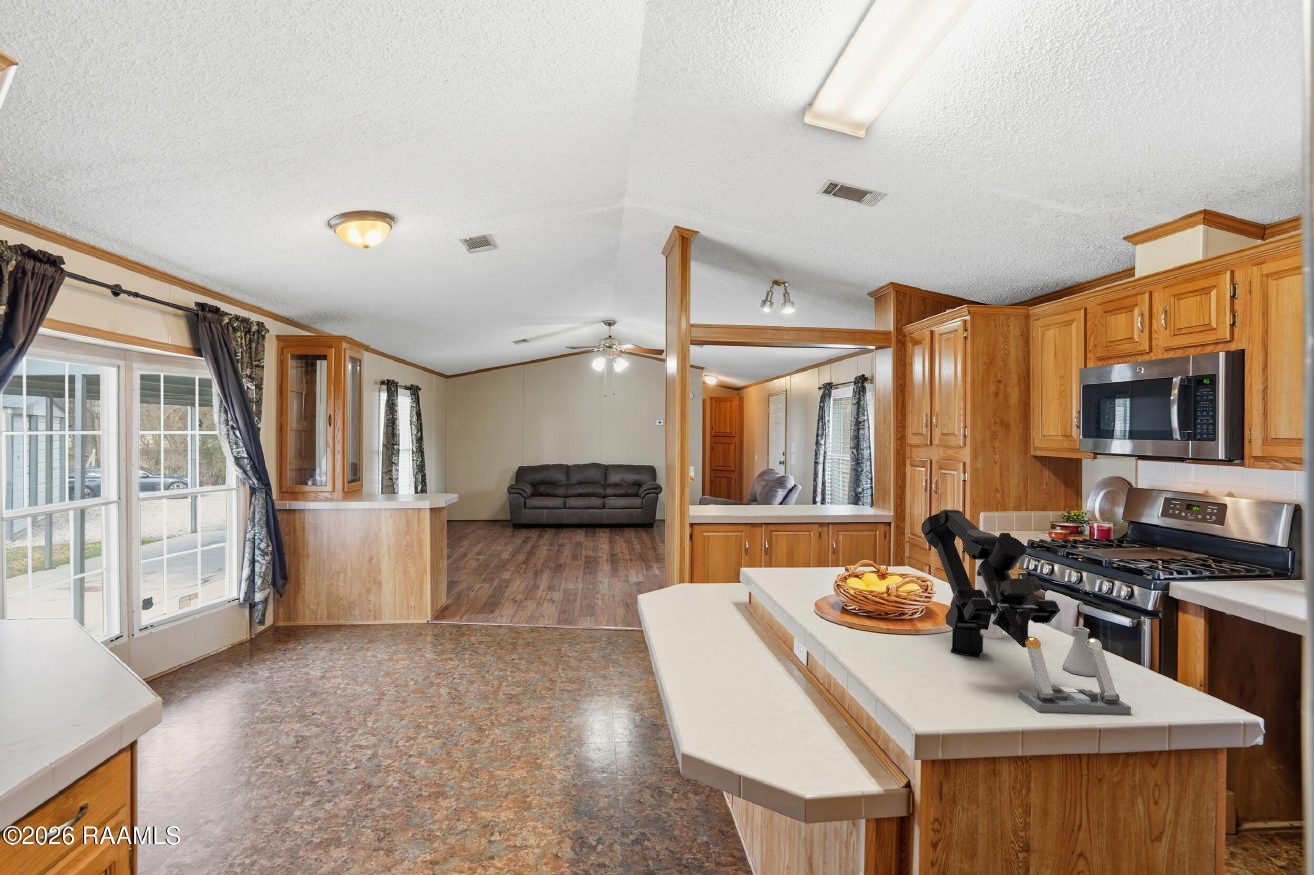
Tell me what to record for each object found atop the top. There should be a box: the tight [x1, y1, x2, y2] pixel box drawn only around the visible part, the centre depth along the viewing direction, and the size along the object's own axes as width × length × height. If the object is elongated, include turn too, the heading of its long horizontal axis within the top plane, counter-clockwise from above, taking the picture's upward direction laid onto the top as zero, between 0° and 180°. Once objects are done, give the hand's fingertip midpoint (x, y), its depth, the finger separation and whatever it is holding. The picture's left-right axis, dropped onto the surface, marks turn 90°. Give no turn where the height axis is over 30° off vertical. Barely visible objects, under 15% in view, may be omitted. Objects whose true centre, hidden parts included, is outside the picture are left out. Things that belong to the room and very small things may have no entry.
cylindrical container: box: [974, 560, 1005, 640], centre depth 176 cm, size 7×7×25 cm
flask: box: [1062, 626, 1096, 677], centre depth 148 cm, size 7×7×10 cm
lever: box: [1086, 637, 1121, 702], centre depth 130 cm, size 3×3×12 cm
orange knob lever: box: [1025, 636, 1056, 700], centre depth 130 cm, size 3×3×12 cm
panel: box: [1018, 685, 1132, 715], centre depth 129 cm, size 7×18×3 cm, turn 90°
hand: (1025, 646), depth 135 cm, fingers closed
